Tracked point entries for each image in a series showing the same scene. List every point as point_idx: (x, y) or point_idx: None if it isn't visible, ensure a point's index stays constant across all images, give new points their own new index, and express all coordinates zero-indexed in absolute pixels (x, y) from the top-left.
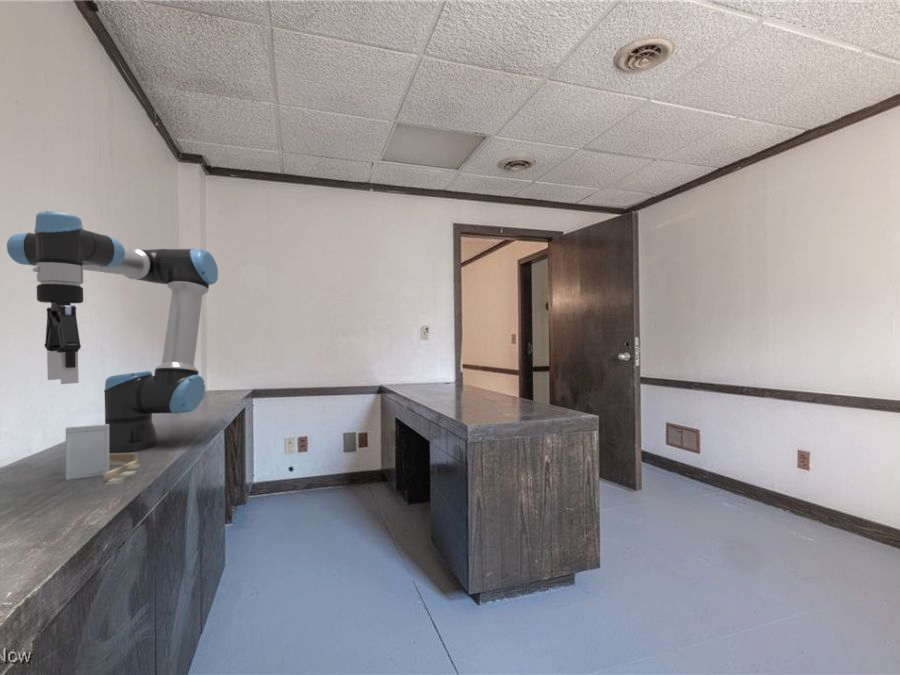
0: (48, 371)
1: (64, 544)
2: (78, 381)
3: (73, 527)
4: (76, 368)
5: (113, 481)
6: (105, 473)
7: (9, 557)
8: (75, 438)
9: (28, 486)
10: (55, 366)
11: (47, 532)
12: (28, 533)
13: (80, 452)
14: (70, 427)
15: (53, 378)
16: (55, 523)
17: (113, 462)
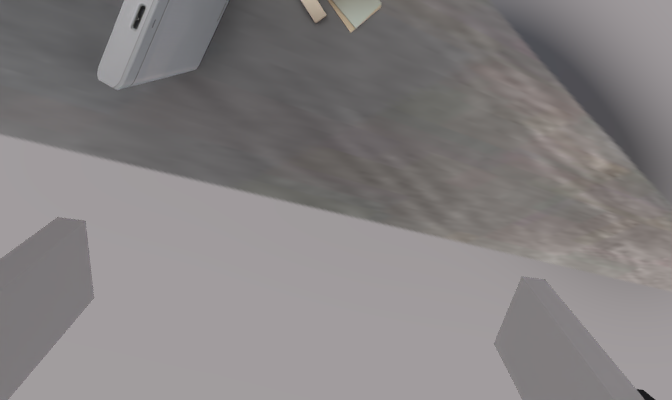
0: (53, 343)
1: (646, 223)
2: (549, 285)
3: (585, 190)
4: (604, 365)
5: (366, 17)
6: (318, 18)
7: (608, 275)
8: (155, 59)
9: (181, 141)
10: (19, 337)
11: (562, 219)
12: (533, 235)
13: (182, 43)
14: (110, 72)
15: (84, 279)
16: (529, 198)
17: None
